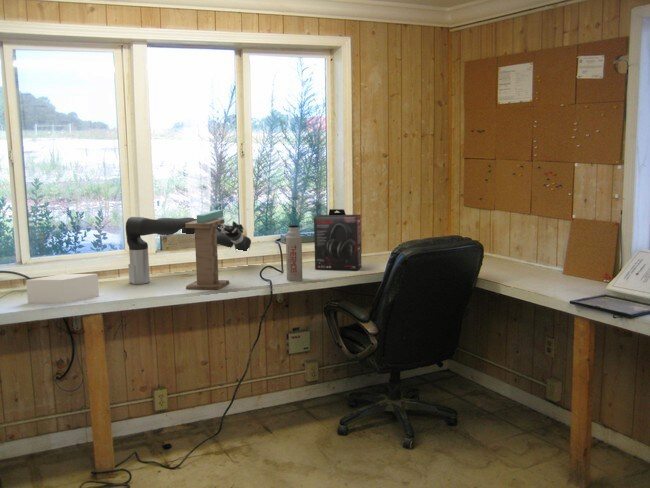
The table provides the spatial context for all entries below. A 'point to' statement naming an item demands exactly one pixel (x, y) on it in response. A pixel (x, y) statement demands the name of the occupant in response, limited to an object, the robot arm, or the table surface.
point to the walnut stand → (206, 255)
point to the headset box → (337, 241)
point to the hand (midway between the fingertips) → (225, 222)
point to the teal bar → (209, 216)
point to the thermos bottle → (294, 254)
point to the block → (62, 288)
